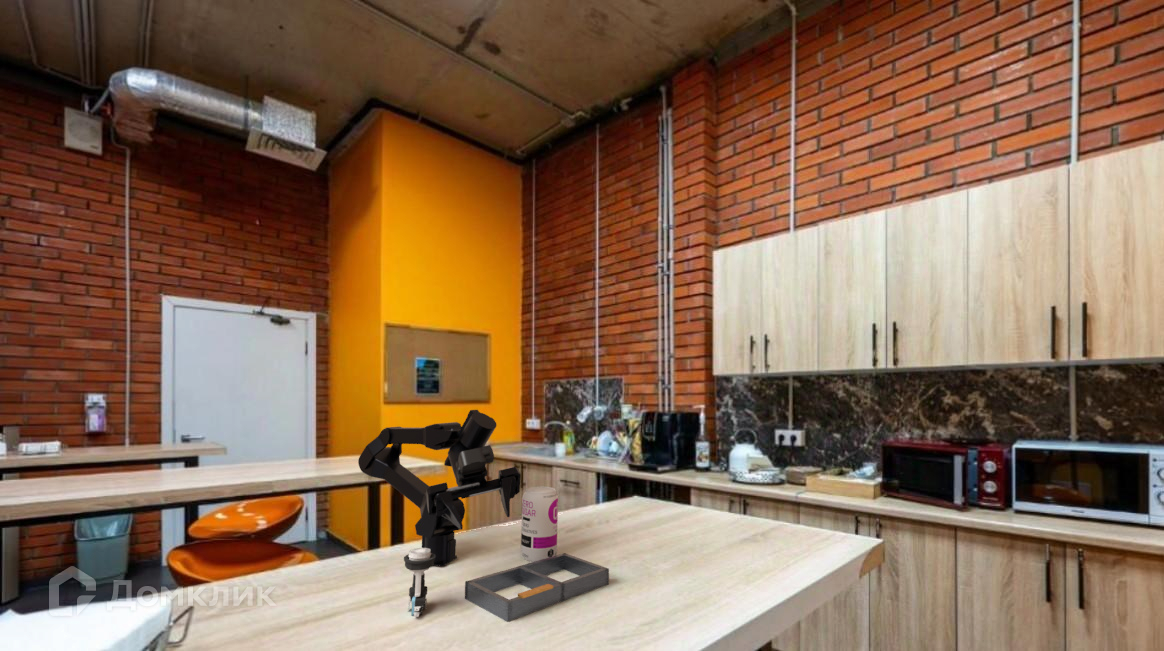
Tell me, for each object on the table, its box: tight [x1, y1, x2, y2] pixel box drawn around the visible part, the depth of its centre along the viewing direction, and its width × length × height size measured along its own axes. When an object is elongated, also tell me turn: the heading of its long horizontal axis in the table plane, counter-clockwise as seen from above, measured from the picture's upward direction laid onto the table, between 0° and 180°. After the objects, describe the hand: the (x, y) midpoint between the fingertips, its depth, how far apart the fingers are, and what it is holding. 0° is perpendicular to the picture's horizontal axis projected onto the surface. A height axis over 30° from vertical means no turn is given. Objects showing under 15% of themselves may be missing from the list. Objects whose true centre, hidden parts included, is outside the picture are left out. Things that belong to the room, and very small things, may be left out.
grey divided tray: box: [464, 552, 610, 622], centre depth 105 cm, size 13×25×3 cm, turn 135°
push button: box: [403, 547, 435, 618], centre depth 96 cm, size 7×5×10 cm
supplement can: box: [520, 486, 559, 563], centre depth 126 cm, size 8×8×15 cm
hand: (485, 521), depth 105 cm, fingers open, 9 cm apart
